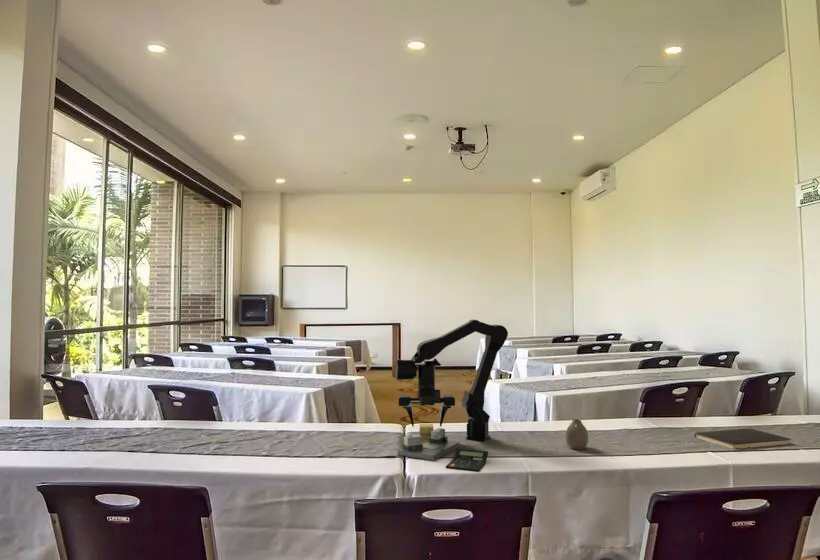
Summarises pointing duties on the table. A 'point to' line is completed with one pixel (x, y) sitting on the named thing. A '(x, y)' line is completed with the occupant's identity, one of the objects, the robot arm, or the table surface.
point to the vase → (577, 435)
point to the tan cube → (425, 430)
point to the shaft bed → (427, 445)
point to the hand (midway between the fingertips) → (426, 426)
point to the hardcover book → (742, 438)
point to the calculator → (468, 460)
